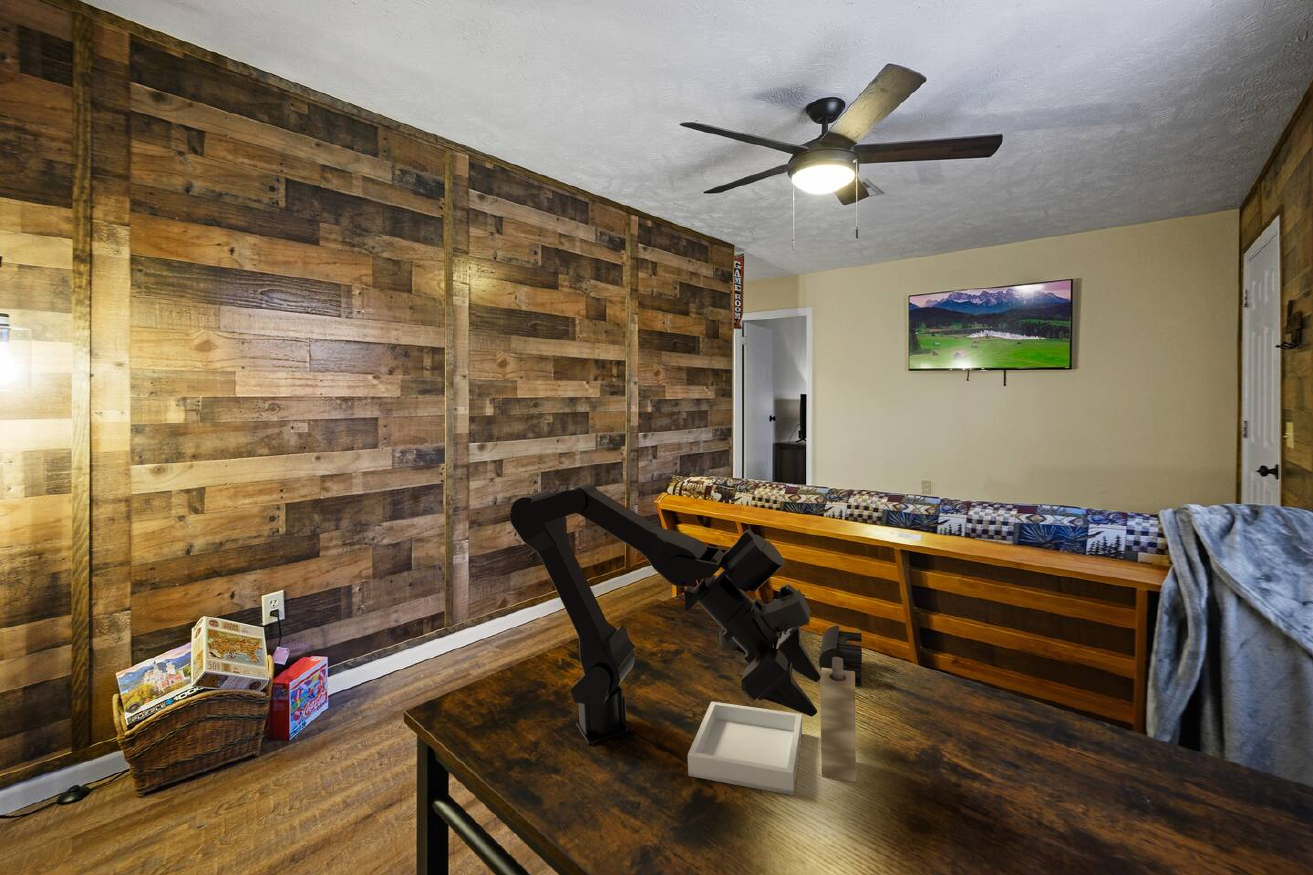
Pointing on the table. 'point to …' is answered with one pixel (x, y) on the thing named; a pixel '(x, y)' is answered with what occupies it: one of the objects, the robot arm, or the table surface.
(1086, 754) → the table surface
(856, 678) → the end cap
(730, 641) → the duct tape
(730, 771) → the white square tray
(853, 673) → the wooden square post
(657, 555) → the robot arm
